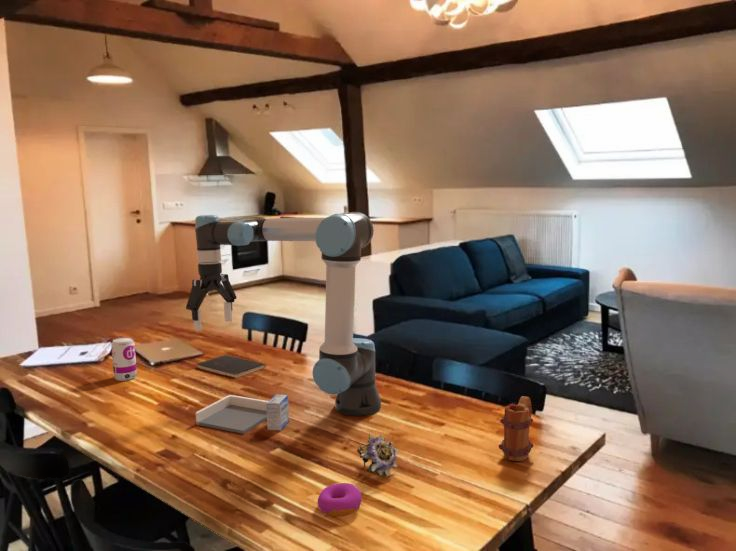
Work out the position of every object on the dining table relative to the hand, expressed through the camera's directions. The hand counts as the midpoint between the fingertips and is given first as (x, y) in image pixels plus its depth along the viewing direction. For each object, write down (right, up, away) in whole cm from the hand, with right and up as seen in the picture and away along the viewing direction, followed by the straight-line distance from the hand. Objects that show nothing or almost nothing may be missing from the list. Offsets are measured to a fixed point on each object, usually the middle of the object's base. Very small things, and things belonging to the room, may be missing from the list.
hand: (213, 325), depth 212 cm
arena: (+10, -29, -11) cm, 32 cm away
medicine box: (+24, -30, -16) cm, 42 cm away
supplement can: (-41, -23, +32) cm, 57 cm away
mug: (+93, -32, -39) cm, 105 cm away
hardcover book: (-3, -21, +42) cm, 47 cm away
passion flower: (+54, -34, -47) cm, 79 cm away
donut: (+45, -38, -64) cm, 87 cm away
